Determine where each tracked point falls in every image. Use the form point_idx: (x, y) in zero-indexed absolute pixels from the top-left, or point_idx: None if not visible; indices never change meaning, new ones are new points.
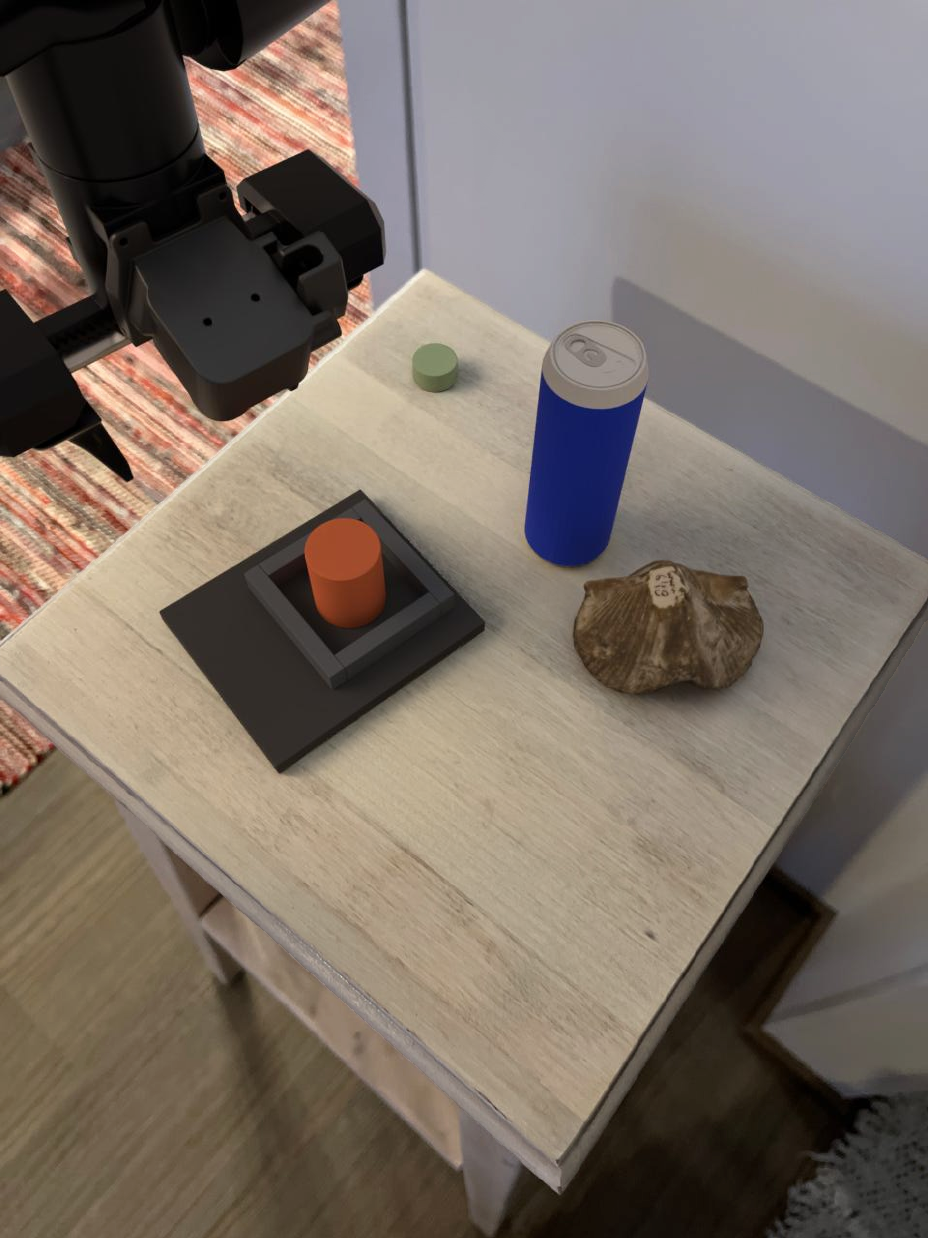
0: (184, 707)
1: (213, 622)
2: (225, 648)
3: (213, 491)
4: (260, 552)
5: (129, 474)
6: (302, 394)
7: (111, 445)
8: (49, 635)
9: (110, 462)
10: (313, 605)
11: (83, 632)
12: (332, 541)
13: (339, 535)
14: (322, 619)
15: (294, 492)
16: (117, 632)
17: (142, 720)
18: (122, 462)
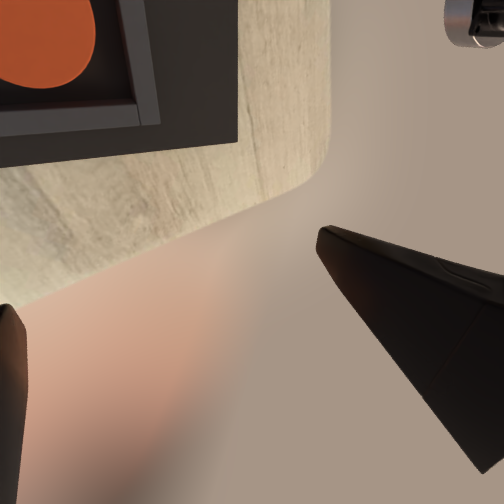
0: (261, 34)
1: (203, 99)
2: (208, 59)
3: (136, 239)
4: (125, 151)
5: (336, 231)
6: None
7: (416, 266)
8: (298, 172)
9: (391, 246)
10: None
11: (281, 162)
12: (33, 41)
13: (15, 44)
14: None
15: (56, 208)
16: (264, 148)
17: (293, 50)
18: (365, 244)
